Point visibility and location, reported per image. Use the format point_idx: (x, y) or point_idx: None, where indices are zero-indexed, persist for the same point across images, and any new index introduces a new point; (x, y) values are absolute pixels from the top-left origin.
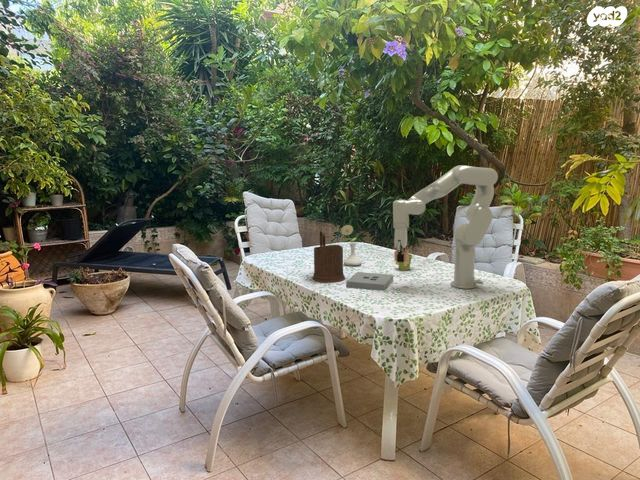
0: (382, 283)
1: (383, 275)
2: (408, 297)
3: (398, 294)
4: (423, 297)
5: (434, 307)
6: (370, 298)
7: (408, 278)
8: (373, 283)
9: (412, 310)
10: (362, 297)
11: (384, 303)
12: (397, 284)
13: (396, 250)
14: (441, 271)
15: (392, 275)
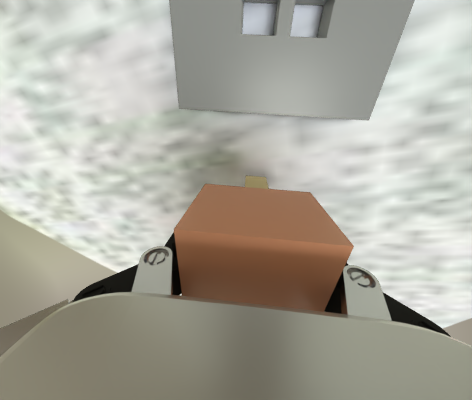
0: (194, 92)
1: (357, 62)
2: (149, 198)
3: (164, 167)
4: (168, 232)
5: (110, 253)
6: (64, 69)
7: (379, 178)
8: (177, 37)
9: (58, 215)
10: (51, 22)
11: (53, 137)
12: (286, 147)
13: (274, 246)
14: (462, 268)
15: (355, 118)
